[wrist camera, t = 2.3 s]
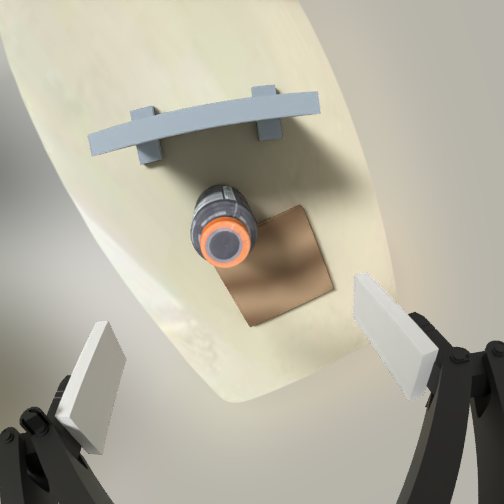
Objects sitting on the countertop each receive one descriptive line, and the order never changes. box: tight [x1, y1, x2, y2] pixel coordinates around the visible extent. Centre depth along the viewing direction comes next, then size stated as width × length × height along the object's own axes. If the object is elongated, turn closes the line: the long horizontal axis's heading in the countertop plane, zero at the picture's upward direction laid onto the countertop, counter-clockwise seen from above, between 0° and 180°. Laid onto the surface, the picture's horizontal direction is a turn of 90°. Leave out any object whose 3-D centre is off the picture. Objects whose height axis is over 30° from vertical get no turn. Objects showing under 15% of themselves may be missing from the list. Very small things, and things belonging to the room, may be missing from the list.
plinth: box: [214, 205, 333, 327], centre depth 37 cm, size 12×12×1 cm
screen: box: [88, 85, 321, 165], centre depth 24 cm, size 16×6×13 cm, turn 99°
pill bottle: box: [191, 185, 258, 268], centre depth 29 cm, size 6×6×11 cm
